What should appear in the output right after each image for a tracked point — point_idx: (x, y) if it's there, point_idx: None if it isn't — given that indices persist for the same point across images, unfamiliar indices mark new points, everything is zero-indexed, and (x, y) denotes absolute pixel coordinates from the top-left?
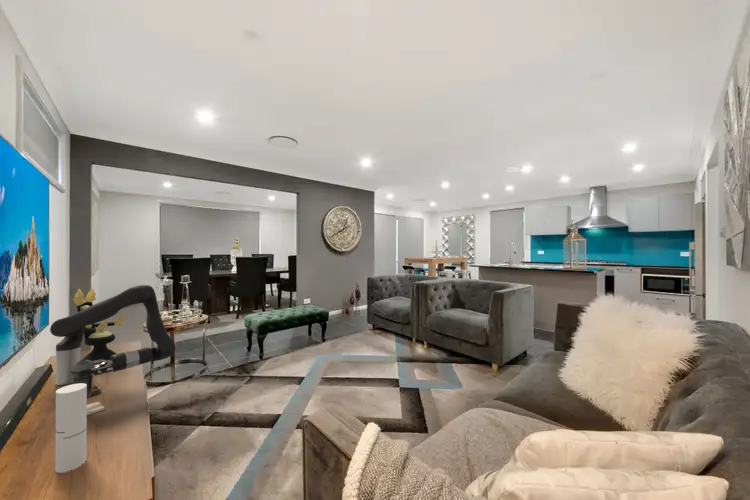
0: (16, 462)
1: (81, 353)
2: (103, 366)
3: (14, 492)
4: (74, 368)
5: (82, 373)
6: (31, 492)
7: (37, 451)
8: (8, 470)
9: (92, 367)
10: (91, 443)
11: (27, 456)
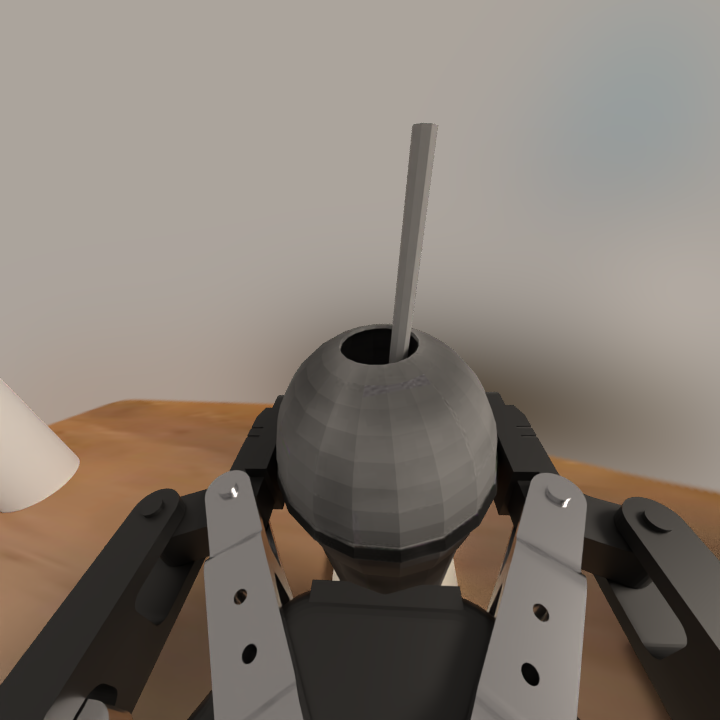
0: (215, 412)
1: (406, 221)
2: (208, 696)
3: (106, 405)
4: (348, 355)
5: (259, 421)
6: (65, 420)
7: (215, 441)
8: (199, 403)
9: (295, 500)
10: (56, 550)
11: (216, 426)
